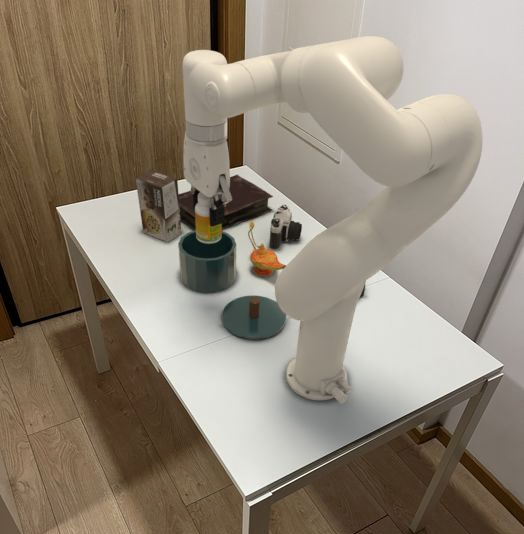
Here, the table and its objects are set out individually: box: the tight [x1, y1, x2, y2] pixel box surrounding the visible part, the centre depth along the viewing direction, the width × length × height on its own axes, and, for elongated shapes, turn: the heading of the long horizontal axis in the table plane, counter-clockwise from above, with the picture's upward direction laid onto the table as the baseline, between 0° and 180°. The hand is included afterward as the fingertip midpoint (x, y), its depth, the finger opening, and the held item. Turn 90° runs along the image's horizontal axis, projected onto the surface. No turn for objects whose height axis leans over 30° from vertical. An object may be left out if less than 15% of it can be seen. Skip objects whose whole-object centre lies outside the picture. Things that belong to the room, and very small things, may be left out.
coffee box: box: [135, 169, 182, 243], centre depth 142 cm, size 9×6×16 cm
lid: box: [221, 295, 287, 340], centre depth 121 cm, size 15×15×6 cm
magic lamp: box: [247, 220, 287, 277], centre depth 132 cm, size 7×18×11 cm, turn 33°
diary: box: [178, 174, 274, 231], centre depth 155 cm, size 19×25×5 cm
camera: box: [268, 204, 303, 251], centre depth 145 cm, size 13×8×9 cm, turn 168°
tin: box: [177, 230, 237, 294], centre depth 130 cm, size 14×14×10 cm
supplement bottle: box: [195, 192, 223, 244], centre depth 109 cm, size 5×5×10 cm
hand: (208, 216), depth 109 cm, fingers closed on supplement bottle, 5 cm apart
